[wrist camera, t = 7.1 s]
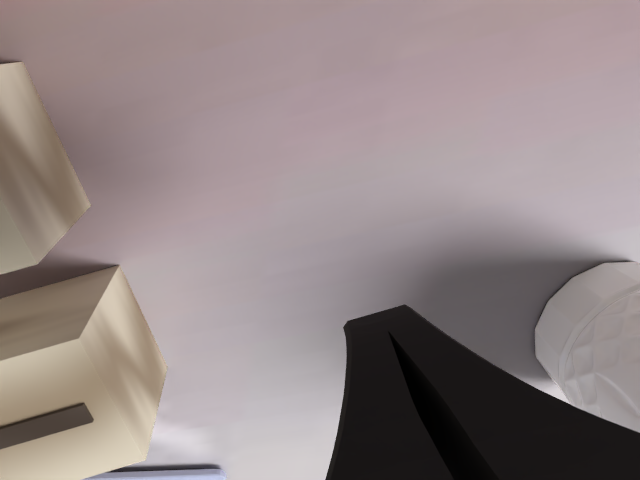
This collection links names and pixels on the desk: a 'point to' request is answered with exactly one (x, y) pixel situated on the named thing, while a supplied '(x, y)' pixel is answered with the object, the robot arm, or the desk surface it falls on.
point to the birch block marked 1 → (76, 379)
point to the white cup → (596, 342)
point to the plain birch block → (32, 176)
